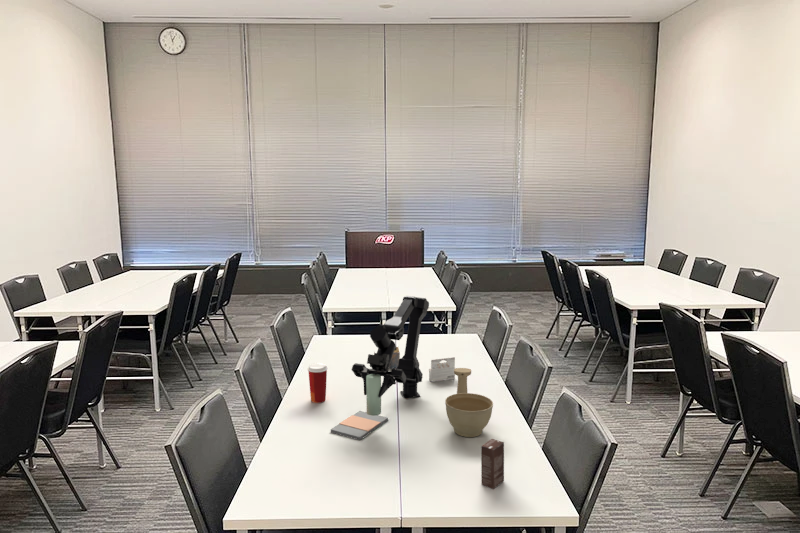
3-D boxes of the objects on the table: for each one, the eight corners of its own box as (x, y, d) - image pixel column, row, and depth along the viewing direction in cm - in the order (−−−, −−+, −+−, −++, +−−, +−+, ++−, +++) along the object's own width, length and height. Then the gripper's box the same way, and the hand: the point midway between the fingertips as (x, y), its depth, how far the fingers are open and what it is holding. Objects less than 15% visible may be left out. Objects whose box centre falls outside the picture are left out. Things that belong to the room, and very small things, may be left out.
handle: (470, 411, 219) (471, 372, 216) (453, 410, 220) (453, 371, 217) (470, 406, 224) (471, 368, 221) (453, 405, 224) (454, 367, 222)
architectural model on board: (398, 366, 269) (398, 346, 268) (399, 368, 266) (399, 348, 265) (374, 367, 268) (373, 347, 266) (374, 369, 265) (374, 349, 263)
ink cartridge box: (428, 380, 251) (429, 358, 250) (452, 377, 255) (453, 355, 253) (430, 382, 249) (431, 359, 247) (455, 379, 252) (455, 357, 251)
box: (490, 476, 173) (491, 437, 171) (504, 481, 170) (505, 442, 168) (479, 484, 168) (480, 445, 166) (493, 490, 166) (494, 450, 164)
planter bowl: (488, 445, 192) (489, 413, 190) (440, 438, 197) (440, 407, 195) (495, 425, 207) (496, 395, 206) (450, 419, 212) (450, 390, 210)
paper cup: (331, 397, 231) (330, 363, 229) (322, 405, 224) (322, 370, 222) (313, 395, 234) (312, 361, 232) (304, 402, 227) (303, 367, 224)
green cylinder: (366, 409, 206) (366, 374, 203) (380, 409, 206) (380, 373, 204) (366, 415, 201) (366, 379, 198) (381, 415, 201) (381, 379, 199)
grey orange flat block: (359, 413, 217) (359, 410, 217) (387, 420, 211) (387, 417, 211) (330, 432, 202) (330, 428, 201) (360, 440, 196) (360, 436, 196)
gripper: (353, 341, 206) (339, 381, 198) (403, 347, 200) (391, 389, 191) (363, 356, 215) (350, 395, 207) (411, 362, 208) (399, 403, 200)
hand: (372, 395), depth 201 cm, fingers closed on green cylinder, 5 cm apart
